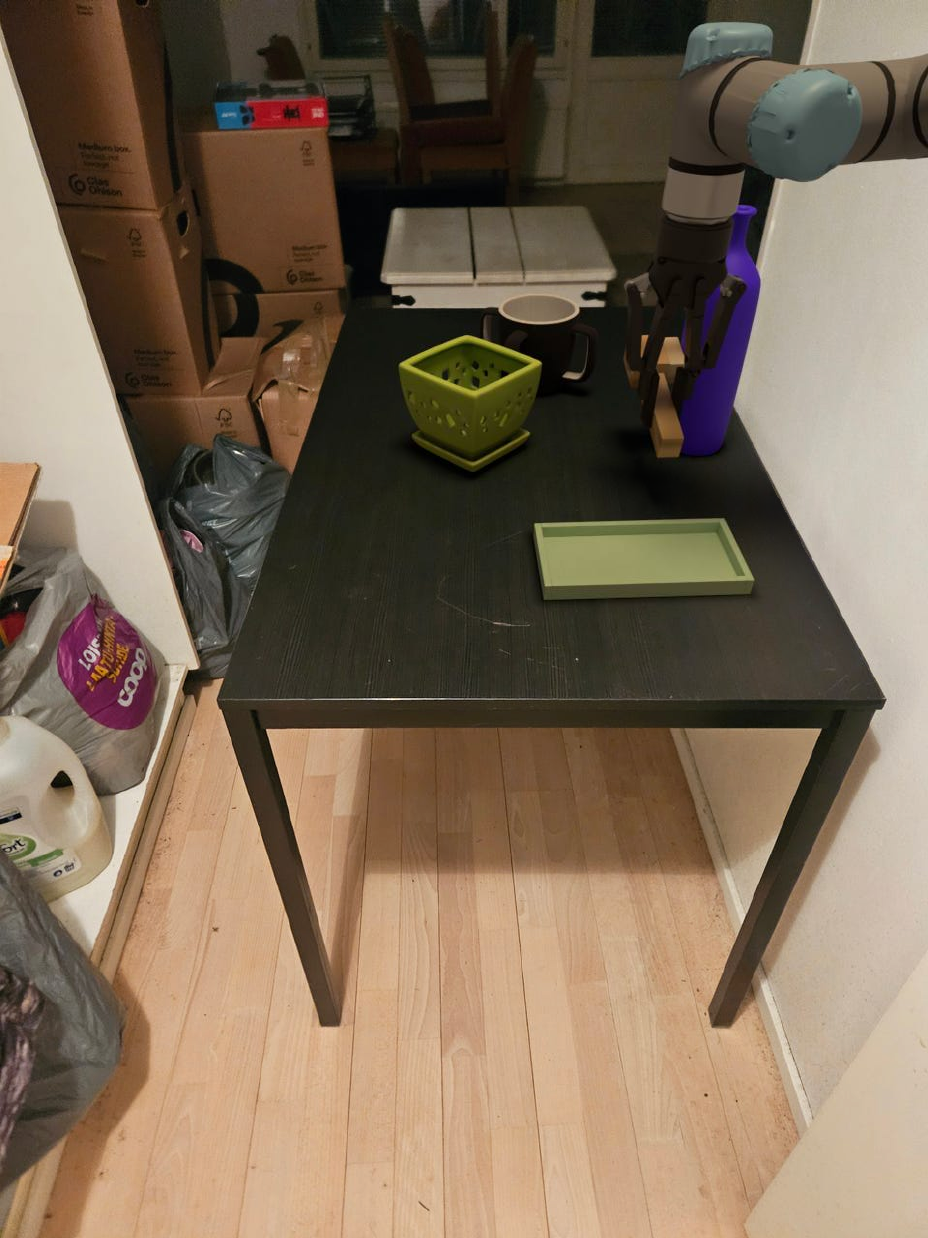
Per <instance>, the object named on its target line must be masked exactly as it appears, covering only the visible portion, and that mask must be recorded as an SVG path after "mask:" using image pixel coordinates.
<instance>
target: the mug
mask: <svg viewBox="0 0 928 1238" xmlns="http://www.w3.org/2000/svg"><path fill="white" fill-rule="evenodd" d="M580 311H581V310H580V306H579V305H578V304H577V303H576V302H575V301H573V300H571V299H569V298H567V297H564V296H561V295H557V294H549V293H525V294H520V295H515V296H512V297H509V298H507V299H505V300H503V301H501V302H500V304H499V305H498V307H495V306H487V307H486V308H484V309H483V310H482V311H481V314H480V317H479V339H482V340H485V341H488V342H491V343H492V338H491V336H492V335H491V330H492V329H491V328H492V327H491V325H492V317H496V318H497V334H498V345H499V346H502V347H505V348H508V349H511V350H513V351H516V352H518V353H521V354H524V355H526V356H529V357H531V358H534V359H536V360H538V361H540V362H541V363H542V369H541V376H540V381H539V385H538V389H537V393H536V395H542V394H543V395H544V394H549V393H552V392H554V391H557V390H558V389H560V388H561V387H562V386H563V385H564V383H565V382H568V383H573V384H582V383H584V382H586V381H587V380H589V379H590V377H591V376H592V374H593V372H594V370H595V368H596V366H597V365H596V364H597V359H598V353H599V344H600V343H599V342H600V341H599V340H600V338H599V337H600V336H599V333H598V331H597V329H596V328H595V327H592V326H589V325H586V324H583V323H580V314H581V313H580ZM578 334H579V335H583V336H585V337H586V340H587V345H586V355H585V363H584V367H583V370H582V371H581V372H573V371H570V367H571V364H572V360H573V355H574V351H575V348H576V342H577V336H578ZM502 374H503V378H504V377H506V376H508V375H509V373H508V372H506V371H503V370H502Z"/></svg>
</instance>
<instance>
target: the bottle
mask: <svg viewBox="0 0 928 1238" xmlns="http://www.w3.org/2000/svg"><path fill="white" fill-rule="evenodd" d="M757 213H758V210H757V208H756V207H754V206H751V205H745V204H738V208H737V211H736V212H735V213H734V214H733V215H731V217H732V219H733V221H734V225H733V230H732V235H731V239H730V244H729V249H728V253H727V257H726V266H727V270H728V273H729V274H731V275H733V276H735V275H738V276H739V277H740V278H741V279H742V280H743V281H744V282H745V284H746V285H747V290H746V291H745V293H744V294H743V296H742V297H741V299H740V300H739V301H738V303H737V304H736V306H735V309H734V312H733V315H732V318H731V321H730V324H729V327H728V330H727V333H726V336H725V339H724V342H723V345H722V348H721V351H720V354H719V357H718V360H717V363H716V366H715V367H714V368H713V369H711V370H709V369H704V370H702V371H701V375H700V376H699V377H698V378H696V381H695V386H694V390H693V395H692V397H691V398H690V399H684V402H683V407H682V412H681V417H680V422H679V423H680V426H681V430H682V433H683V436H684V440H683V443H682V447H681V450H680V453H679V454H682V455H686V456H691V457H692V456H693V457H694V456H695V457H703V456H709V455H713V454H714V453H716V452H718V451H719V450H720V449H721V447H722V445H723V443H724V440H725V437H726V435H727V432H728V431H727V430H728V427H729V424H730V420H731V416H732V413H733V408H734V404H735V401H736V396H737V393H738V389H739V385H740V381H741V376H742V373H743V369H744V364H745V360H746V356H747V352H748V348H749V344H750V339H751V335H752V332H753V331H752V330H753V328H754V327H753V326H754V323H755V316H756V314H757V308H758V303H759V299H760V292H761V284H762V281H761V276H760V273H759V271H758V268H757V265H756V264H755V262H754V260H753V258H752V256H751V255H750V253H749V252H748V249H747V242H746V241H747V234H748V230H749V226H750V221H751V218H752V217H753V216H755V215H756V214H757ZM720 287H721V285H720V286H719V287H718V288H717V289H716V290H715V291H714V292H713V293H712V295H711V296H710V297H709V298H708V299H707V300H706V305H705V316H704V317H703V328H702V342H701V352H702V348H703V345H704V342H705V339H706V336H707V333H708V330H709V327H710V323H711V320H712V317H713V314H714V311H715V308H716V305H717V301H718V299H719V296H720V294H721V292H720ZM685 315H686V316H685V321H684V326H683V330H682V336H681V339H680V340H681V341H680V345H681V348H682V351H683V354H684V353H685V335H686V318H687V314H685ZM673 384H674V383H672V385H673Z"/></svg>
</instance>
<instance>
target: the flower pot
mask: <svg viewBox="0 0 928 1238" xmlns="http://www.w3.org/2000/svg"><path fill="white" fill-rule="evenodd" d="M475 362H476V363H477V364H478V368H477V369H476V368H474V367H473V364H474V363H475ZM492 365H493V366H492ZM541 369H542V363H541V362H540V361H538V360H536V359H534V358H531V357H529V356H526V355H524V354H521V353H518V352H516V351H513V350H511V349H508V348H505V347H502V346H499V344H496V343H494V342H492V341H491V342H488V341H485V340H482V339H480V337H476V336H473V335H469V334H465V335H463V336H459V337H456V338H453V339H451V340H449V341H446V342H444V343H442V344H438V345H436V346H433V347H432V348H428V349H427V350H425V351H423V352H419V353H418V354H416V355H413V356H411V357H409V358H407V359H405V360H403V361H402V362H400V363H399V365H398V374H399V381H400V385H401V389H402V390H401V391H402V392H403V393H402V394H403V397H404V401H405V403H406V407H407V409H408V411H409V415H410V416H411V417H412V418H411V419H413V422H414V424H415V425H416V426H417V428H418V430H417V431H415V432H414V433H412V434H411V438H412V440H413V441H414V442H415V443H416V444H417V445H418V446H419V447H421V448H423V449H425V450H426V451H428V452H430V453H432V454H434V455H435V456H438V457H440V458H442V459H443V460H446V461H448V462H450V463H452V464H454V465H455V466H458V467H459V468H461V469H464V470H466V471H468V472H471V473H475V472H477V471H478V470H479V471H480V469H483V468H485V467H486V466H488V465H489V464H491V463H493V462H494V461H496V460H497V459H500V458H503V456H505V455H507V454H509V453H510V452H512V451H514V450H516V449H518V448H519V447H520V446H522V445H523V444H524V443H525V442H526V441H527V440H528V439H529V437H530V435H531V433H530V432H529V431H528V430H526V429H524V428H522V426H523V424H524V423H525V421H526V419H527V417H528V415H529V414H530V412H531V409H532V407H533V404H534V402H535V399H536V397H537V394H536V393H537V389H538V385H539V381H540V376H541ZM503 371H506V372H508V373H509V375H508V376H506V377H504V376H503V377H502V372H503ZM444 372H447V376H448V377H447V378H448V379H447V380H446V379H443V373H444ZM486 372H487V376H486ZM474 378H476V379H478V380H479V383H478V387H477V386H475V385H473V384H474ZM455 380H457V383H455Z"/></svg>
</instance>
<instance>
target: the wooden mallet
mask: <svg viewBox="0 0 928 1238" xmlns="http://www.w3.org/2000/svg"><path fill="white" fill-rule="evenodd" d="M648 335H649V334H645V335H644V334H642V342H641V357H642V355H643V352H644V348H645V345H646V342H647V338H648ZM623 353H624V354H623V364H624V368H625V371H626V375H627V379H628V383H629V386H630V388H631V389H634V388H635V389H637V388H638V382H639V375H640V372H638V371H632V370H631V369H630V367H629V365H628V363H627V360H626V347H625V348H624V352H623ZM684 366H685V365H684V354H683V351H682V348H681V341H680V340H679V337H678V336H668V337H667V336H666V337H665V340H664V344H663V347H662V350H661V353H660V357H659V360H658V363H657V366H656V370H657V372H658V374H659V376H660V381H659V387H658V392H657V398H656V404H655V409H654V415H653V420H652V426H651V428H648V429H649V433H650V437H651V440H652V444H653V448H654V451H655V455H656V458H657V459H659V458H660V459H663V458H679V457H680V454H681V453H680V450H681V447H682V443H683V440H684V436H683V433H682V430H681V426H680V423H679V420H678V417H677V414H676V410H675V407H674V404H673V401H672V398H671V394H672V393H671V391H670V388H669V385H668V384H671V385H673V383H674V379H675V373H676V368H677V367H683V368H684ZM640 401H641V404H642V405H643V400H640Z"/></svg>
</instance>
